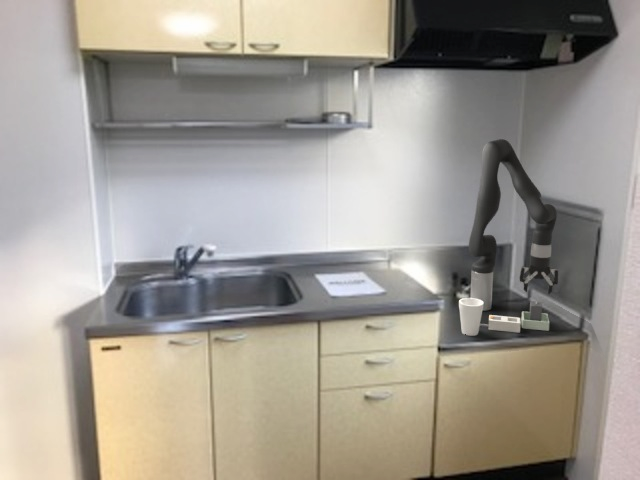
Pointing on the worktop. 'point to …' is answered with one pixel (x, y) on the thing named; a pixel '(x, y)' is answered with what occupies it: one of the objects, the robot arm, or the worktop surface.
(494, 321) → the power strip
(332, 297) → the worktop surface
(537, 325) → the tray
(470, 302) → the foam cup
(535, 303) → the block
